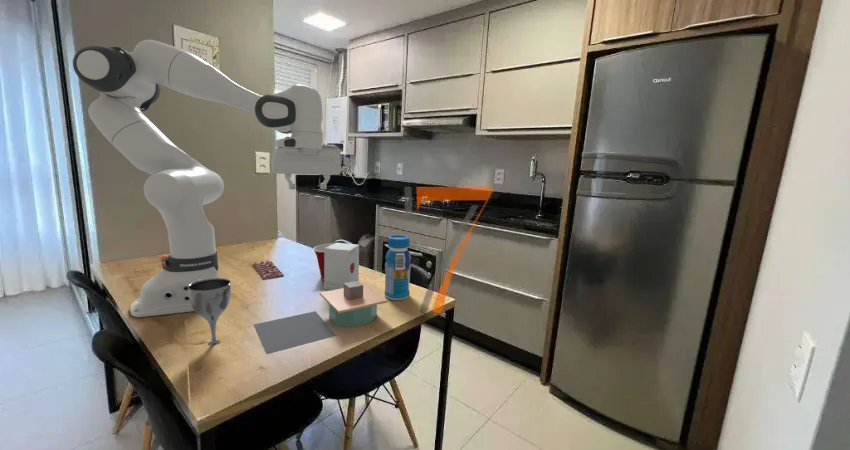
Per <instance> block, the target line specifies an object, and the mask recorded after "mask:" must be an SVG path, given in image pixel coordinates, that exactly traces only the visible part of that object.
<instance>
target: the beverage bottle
mask: <svg viewBox="0 0 850 450" xmlns="http://www.w3.org/2000/svg"><path fill="white" fill-rule="evenodd" d="M387 242H388V243H387V245H388V246H387V247H388V248H389V249H388V251H387V252H386V253H385V254H386V255H385V263H384V269H385V270H384V271H385V272H384V273H385V276H384V279H385V280H384V284H385V285H384V296H385V298H386V299H387V300H393V301H403V300H406V299H408V298H409V297H410V280H411V268H412V263H411V259H412V256H411V253H410V251H409V249H408V248H410V237H409V236H407V235H401V234H393V235H390V236H388V241H387Z"/></svg>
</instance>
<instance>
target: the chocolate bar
mask: <svg viewBox="0 0 850 450" xmlns="http://www.w3.org/2000/svg"><path fill="white" fill-rule="evenodd" d="M252 267H253V269H254V270H255V271H256V273H257V274H258V275H259V277H260V278H261V280H267V279H275V278H279V277H284V275H285V273H282V271H281V270H280V269H279V267H277V266H276V265H275V264H274V262H272V260H271V261H269V260H268V259H267V260H266V261H265V262H264V261H263V260H261V262H258V263H257V261H254V262H253V263H252Z"/></svg>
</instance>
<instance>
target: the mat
mask: <svg viewBox="0 0 850 450" xmlns="http://www.w3.org/2000/svg"><path fill="white" fill-rule="evenodd" d="M253 327H254V329H255V331H256V333H257V336H258V338H259V341H260V342H261V345H262V348H263V350H264V352H265V354H266V355H268V354H273V353H277V352H279V351H280V352H281V351H283V350H287V349H291V348H295V347H298V346H303V345H306V344H307V345H308V344H310V343H313V342H317V341H318V342H319V341H322V340H325V339H329V338H332V337H336V336H337V334H336V333H335V332H334V331H333V330H332V328H331V327H330V326H329V325H328V324H327V322H325V320H324V319H323V318H322V317H321V315H320V314H318V312H317V311H316V310H315V311H310V312H305V313H301V314H295V315H290V316H287V317H282V318H277V319H273V320H268V321H264V322H259V323H254V324H253Z"/></svg>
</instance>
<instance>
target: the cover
mask: <svg viewBox="0 0 850 450" xmlns="http://www.w3.org/2000/svg"><path fill="white" fill-rule="evenodd" d="M319 295H320V296H321V297H322V299H323V300H324V301H326V302H327V304H328V305H329V304H330V305H331V306H332V307H333V308H334V309H335V310H336V311H337V312H338V313H343V312H347V311H352V310H356V309H360V308H365V307H369V306H374V305H377V306H378V305H383V304H386V303H388V302H389V299H388V298H387V297H384V296H383V295H382V294H380V293H379V292H377V291H376V290H374V289H373V288H372V287H371V286H369V285H368V284H366V283H365V284H362V283H361V282H360V281H359V282H358V281H353V282H348V283H344V288H341V289H336V290H325V291H322V292H319Z"/></svg>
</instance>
